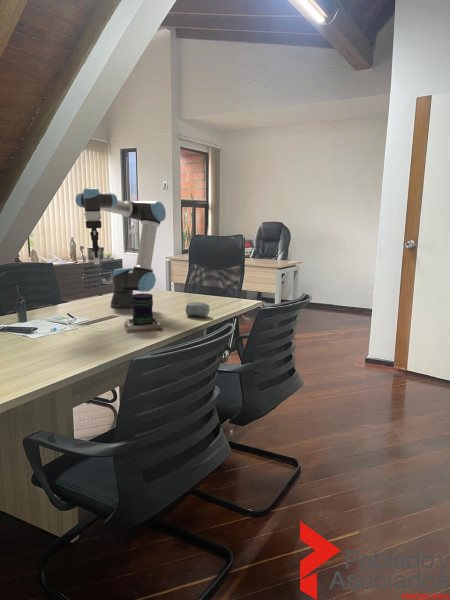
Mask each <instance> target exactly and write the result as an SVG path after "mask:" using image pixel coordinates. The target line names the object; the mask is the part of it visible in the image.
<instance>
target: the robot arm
mask: <svg viewBox="0 0 450 600" xmlns="http://www.w3.org/2000/svg"><path fill="white" fill-rule="evenodd" d="M75 202H76V205H77V206H78V207H79V208H84V213H83V216H85V217H84V218H85V228H86V229H91V231H90V239H91V242H92V245H91V246H92V249H91V252H92V256H93V265H100V264H101V263H100V251H99V250H100V245H99V233H100V232H99V231H98V230H97V229H101V228H102V214H101V211H104V212H109V213H112V214H113V213H114V214H117V215H121V216H122V217H124V218H128V219H133V220H136V221H140V223H141V225H142V227H141V232H140V233H141V234H140V240H139V246H138V252H137V258H136V264H135V265H134V266H133V267H124V268H115V269H113V272H112V288H113V289H112V291H113V293H112V296H111V300H110V307H111V308H115V309H129V308H133V295H134V291H135V292H137V291H138V292H142V293H145V292H146V293H147V292H150V291H151V290H152V289H154V287H155V284H156V281H157V278H156V275H155V273H154V269H153V268H152V261H153V256H154V251H155V243H156V238H157V237H156V235H157V229H158V227H160V226H161V222H163V221H164V220H165V219H166V216H167V214H166V213H167V212H166V208H165V206H164V204H163V203H162V202H161V201H158V200H136V201H135V200H132V201H131V200H124V201H122V200H119V199H118V197H117V195H116V194H115V193H112V192H100V190H99V188H96V187H95V188H93V187H91V188H89V187H88V188H83V192H79V193H78V194H76V196H75Z"/></svg>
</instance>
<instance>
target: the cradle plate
mask: <svg viewBox="0 0 450 600" xmlns="http://www.w3.org/2000/svg"><path fill="white" fill-rule="evenodd" d="M124 327H125V329H126V332H127V333H141V332H159V331H161V332H162V331H164V328H163V326H162V324H161V323H160V321H159V319H158V318H157V317H153V325H134V326H133V318H126V319H125V321H124Z"/></svg>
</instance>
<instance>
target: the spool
mask: <svg viewBox="0 0 450 600" xmlns="http://www.w3.org/2000/svg"><path fill="white" fill-rule="evenodd" d="M210 309H211V307H210V305H209V304H207V303H205V302H200V301H199V302H198V301H189V302H187V304H186V306H185V314H186V316H188V317H198V318H207V317H208V315H209V314H210Z"/></svg>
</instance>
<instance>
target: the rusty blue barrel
mask: <svg viewBox="0 0 450 600" xmlns="http://www.w3.org/2000/svg"><path fill="white" fill-rule="evenodd" d="M153 296H154V295H153V294H152V293H145V292H142V293H133V307H132V308H133V309H132V311H133V314H132V319H133V326H134V325H153V318H154V315H153V306H154V299H153Z"/></svg>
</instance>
